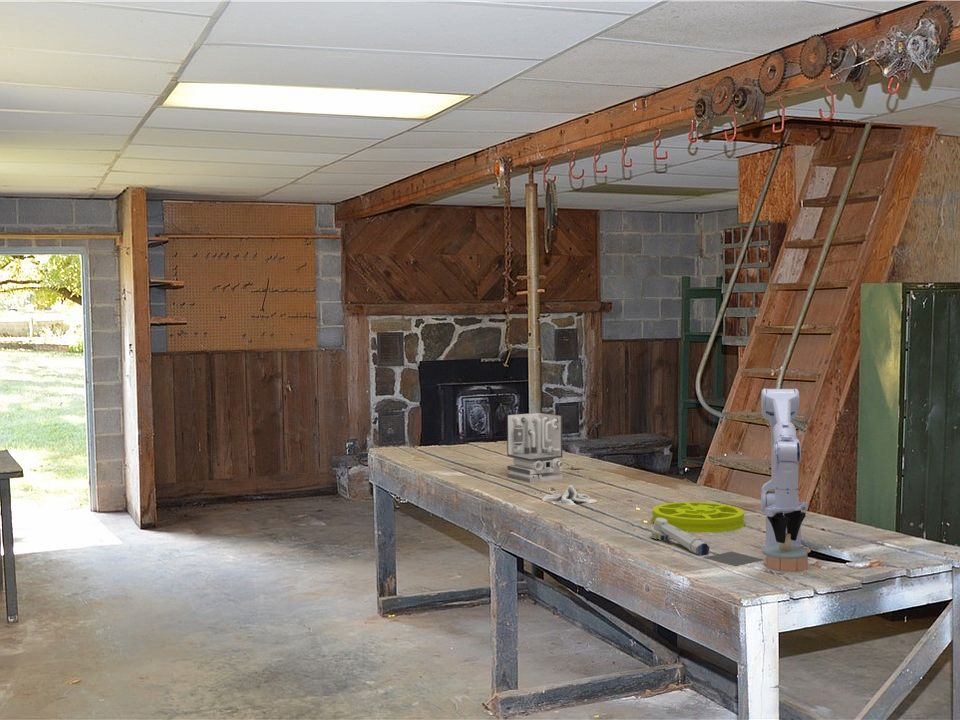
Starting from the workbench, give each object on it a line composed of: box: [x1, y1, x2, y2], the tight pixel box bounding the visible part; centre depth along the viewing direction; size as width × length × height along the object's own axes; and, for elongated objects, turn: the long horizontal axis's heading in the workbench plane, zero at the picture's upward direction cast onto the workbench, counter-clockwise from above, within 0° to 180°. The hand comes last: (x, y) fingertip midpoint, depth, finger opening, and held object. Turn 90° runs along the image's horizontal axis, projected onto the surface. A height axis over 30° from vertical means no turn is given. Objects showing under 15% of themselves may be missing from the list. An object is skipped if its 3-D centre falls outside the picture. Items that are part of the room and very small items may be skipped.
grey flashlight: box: [650, 518, 711, 556], centre depth 275 cm, size 5×7×25 cm
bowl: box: [764, 555, 809, 572], centre depth 251 cm, size 10×10×4 cm
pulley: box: [652, 501, 745, 533], centre depth 306 cm, size 28×28×5 cm
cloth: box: [541, 484, 598, 506], centre depth 341 cm, size 22×19×6 cm
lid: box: [761, 533, 808, 559], centre depth 251 cm, size 11×11×5 cm
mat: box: [703, 551, 764, 567], centre depth 259 cm, size 11×11×1 cm
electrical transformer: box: [506, 412, 563, 484], centre depth 389 cm, size 16×19×25 cm
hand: (786, 541), depth 251 cm, fingers open, 4 cm apart
